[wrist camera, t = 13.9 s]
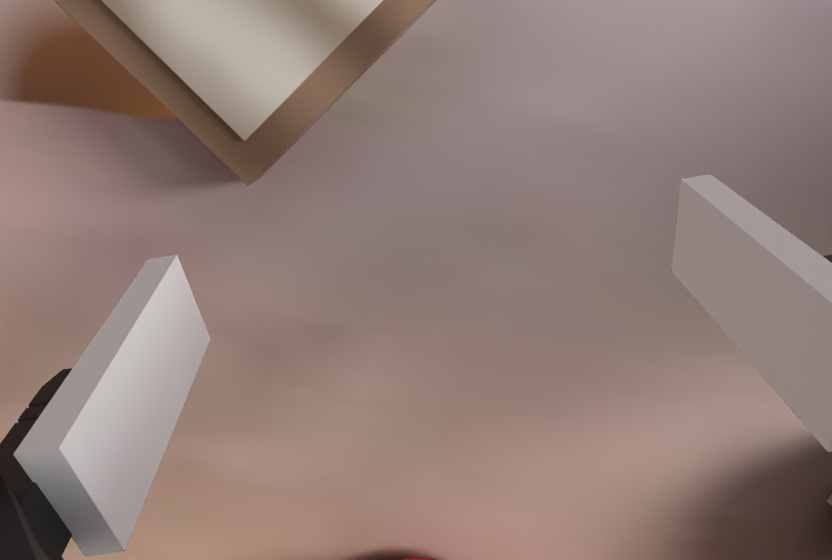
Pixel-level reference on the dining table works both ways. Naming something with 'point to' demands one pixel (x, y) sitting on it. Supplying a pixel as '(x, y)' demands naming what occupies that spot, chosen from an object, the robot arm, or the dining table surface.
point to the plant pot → (418, 559)
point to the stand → (246, 62)
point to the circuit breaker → (830, 500)
